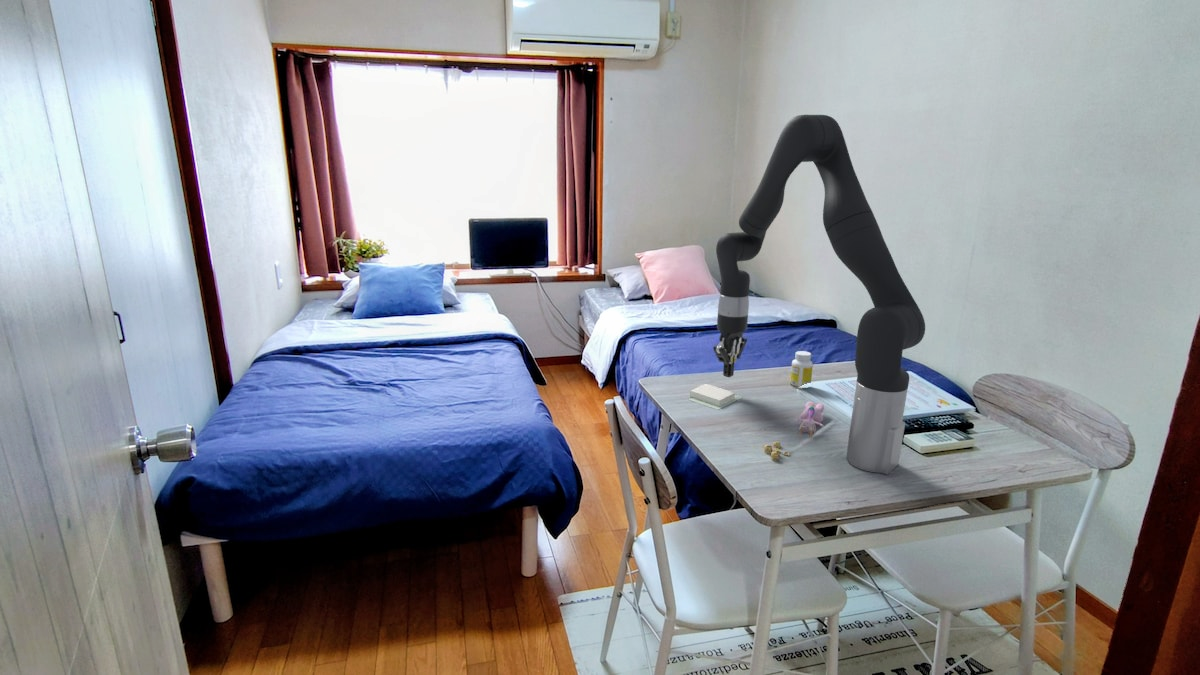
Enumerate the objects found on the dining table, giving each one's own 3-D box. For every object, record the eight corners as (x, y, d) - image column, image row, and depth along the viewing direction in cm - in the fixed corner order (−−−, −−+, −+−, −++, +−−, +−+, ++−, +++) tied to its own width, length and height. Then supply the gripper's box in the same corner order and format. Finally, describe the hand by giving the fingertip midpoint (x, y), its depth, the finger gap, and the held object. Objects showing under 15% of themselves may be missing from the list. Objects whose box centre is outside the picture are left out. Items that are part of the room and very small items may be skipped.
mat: (777, 402, 153) (777, 400, 153) (744, 421, 142) (744, 418, 142) (718, 384, 165) (718, 382, 165) (682, 400, 154) (683, 398, 154)
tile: (719, 400, 149) (690, 390, 155) (719, 406, 149) (689, 396, 155) (735, 392, 153) (705, 383, 159) (734, 398, 154) (705, 389, 160)
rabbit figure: (819, 445, 133) (829, 411, 145) (821, 423, 131) (831, 390, 143) (790, 439, 136) (802, 406, 148) (792, 417, 134) (804, 385, 145)
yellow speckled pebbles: (773, 463, 124) (774, 455, 123) (758, 453, 128) (758, 444, 128) (793, 459, 126) (794, 451, 125) (777, 448, 130) (778, 440, 130)
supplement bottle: (811, 385, 165) (815, 351, 162) (809, 392, 160) (813, 357, 157) (790, 382, 167) (794, 349, 164) (788, 389, 162) (791, 354, 159)
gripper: (731, 319, 145) (726, 386, 150) (759, 309, 154) (753, 373, 159) (705, 313, 149) (701, 378, 155) (733, 304, 159) (729, 366, 164)
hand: (728, 376), depth 157 cm, fingers closed
